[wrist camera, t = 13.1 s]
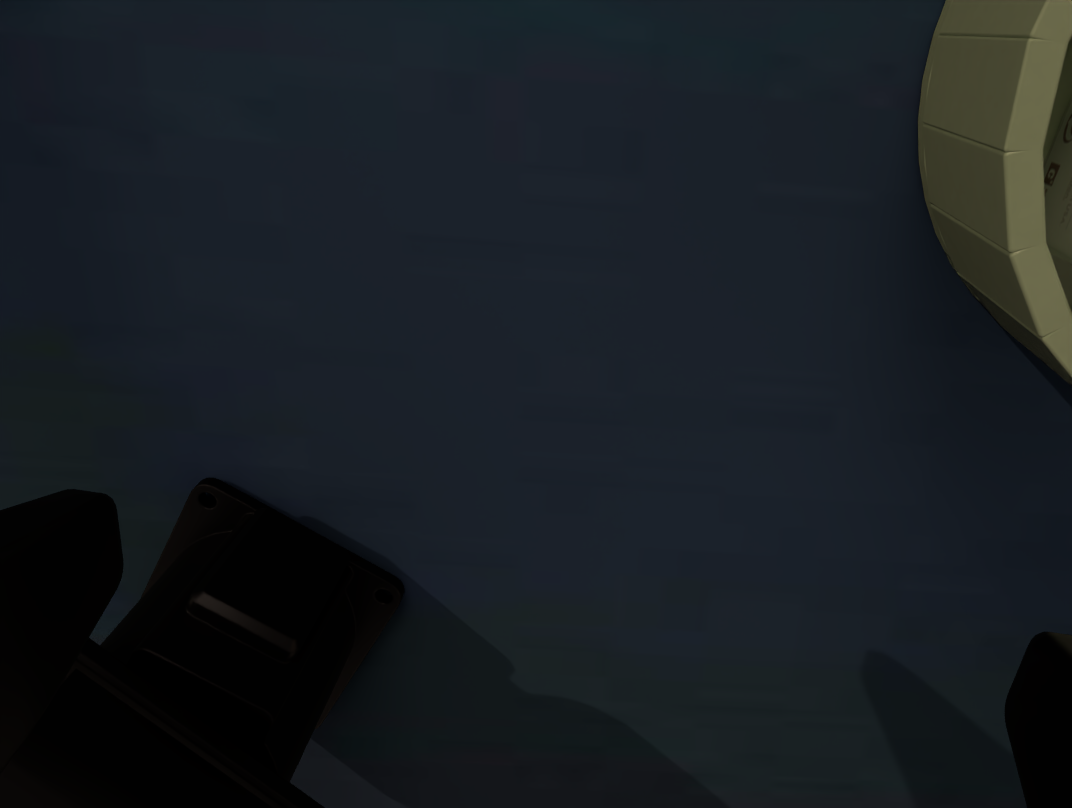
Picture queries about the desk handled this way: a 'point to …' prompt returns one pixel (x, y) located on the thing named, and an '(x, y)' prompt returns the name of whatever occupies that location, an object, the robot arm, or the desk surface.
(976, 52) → the bowl
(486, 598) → the desk surface
